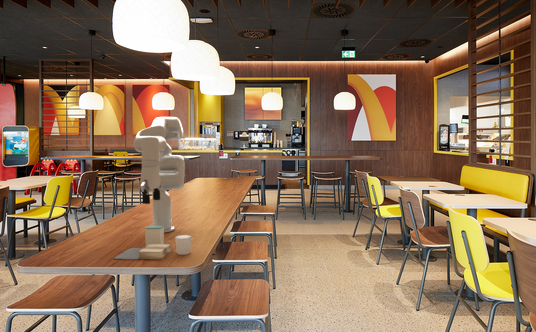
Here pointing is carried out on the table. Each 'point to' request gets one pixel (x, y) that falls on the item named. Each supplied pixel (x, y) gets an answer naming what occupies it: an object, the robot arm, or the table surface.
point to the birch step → (154, 251)
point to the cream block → (154, 235)
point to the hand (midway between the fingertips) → (151, 201)
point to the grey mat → (129, 254)
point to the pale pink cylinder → (183, 244)
